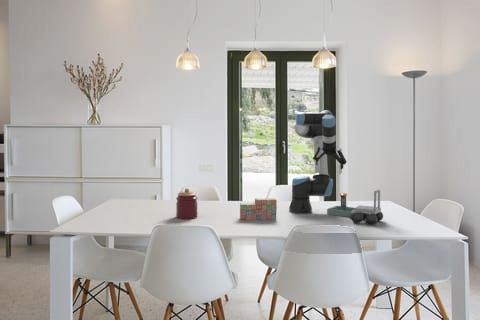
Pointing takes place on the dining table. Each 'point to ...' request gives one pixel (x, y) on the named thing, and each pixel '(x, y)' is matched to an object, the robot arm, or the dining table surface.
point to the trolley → (368, 212)
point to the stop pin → (343, 201)
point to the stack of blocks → (259, 209)
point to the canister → (186, 205)
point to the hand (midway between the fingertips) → (329, 171)
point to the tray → (340, 211)
